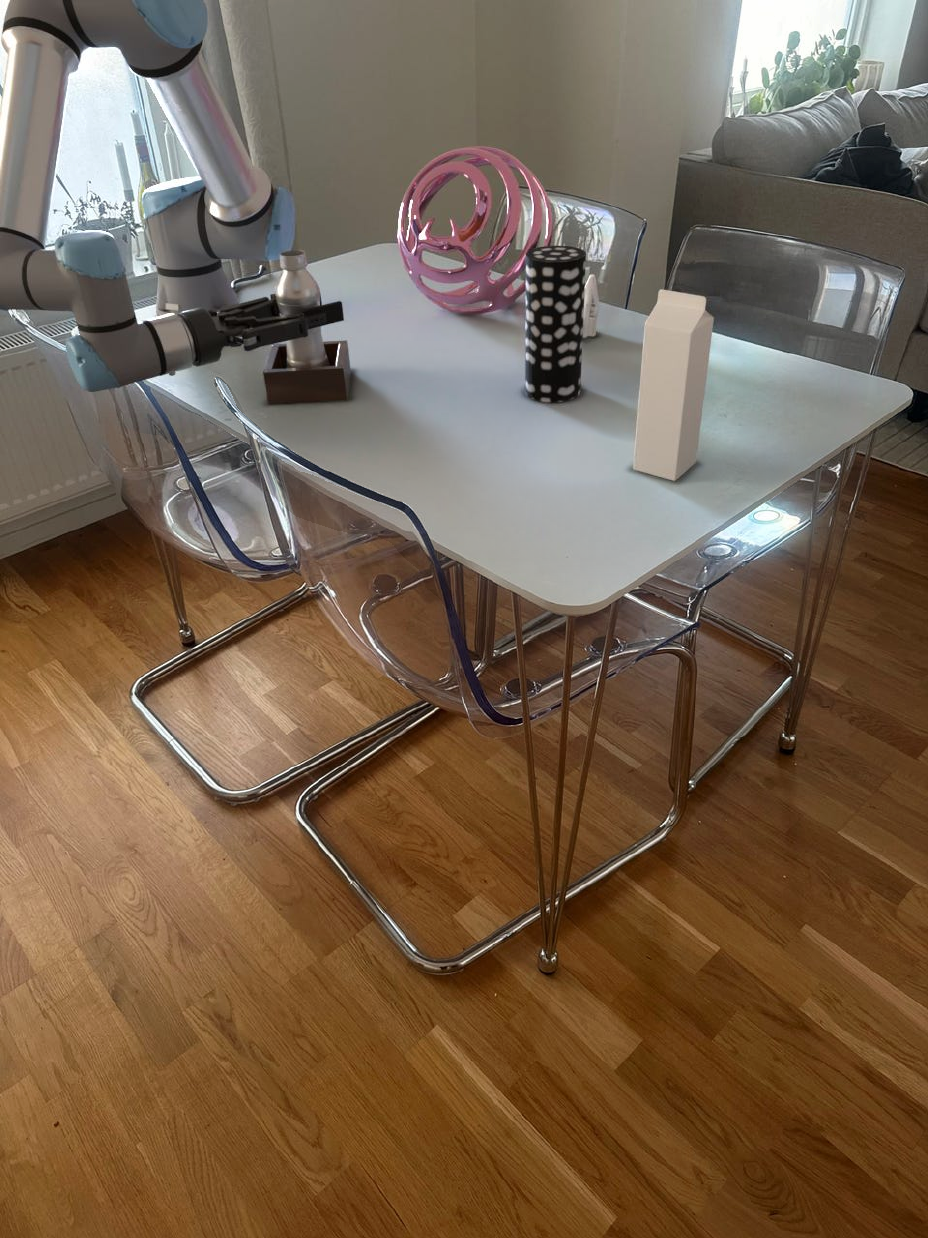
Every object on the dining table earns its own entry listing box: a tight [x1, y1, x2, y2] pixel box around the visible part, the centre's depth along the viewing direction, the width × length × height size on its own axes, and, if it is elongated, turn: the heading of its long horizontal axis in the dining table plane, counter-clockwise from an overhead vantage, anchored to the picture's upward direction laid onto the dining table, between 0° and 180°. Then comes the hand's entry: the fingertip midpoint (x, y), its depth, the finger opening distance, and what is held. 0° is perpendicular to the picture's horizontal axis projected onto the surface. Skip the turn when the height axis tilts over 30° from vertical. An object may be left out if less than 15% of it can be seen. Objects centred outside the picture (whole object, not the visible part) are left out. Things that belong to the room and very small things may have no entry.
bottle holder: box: [262, 339, 351, 405], centre depth 142 cm, size 12×12×5 cm
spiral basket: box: [397, 145, 554, 316], centre depth 165 cm, size 28×28×27 cm
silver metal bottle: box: [274, 249, 330, 368], centre depth 137 cm, size 6×7×20 cm
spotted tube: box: [524, 245, 587, 403], centre depth 133 cm, size 8×8×20 cm
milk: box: [632, 288, 715, 482], centre depth 111 cm, size 6×6×22 cm
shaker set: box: [583, 273, 600, 339], centre depth 152 cm, size 12×4×11 cm, turn 133°
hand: (330, 304), depth 139 cm, fingers closed on silver metal bottle, 6 cm apart
